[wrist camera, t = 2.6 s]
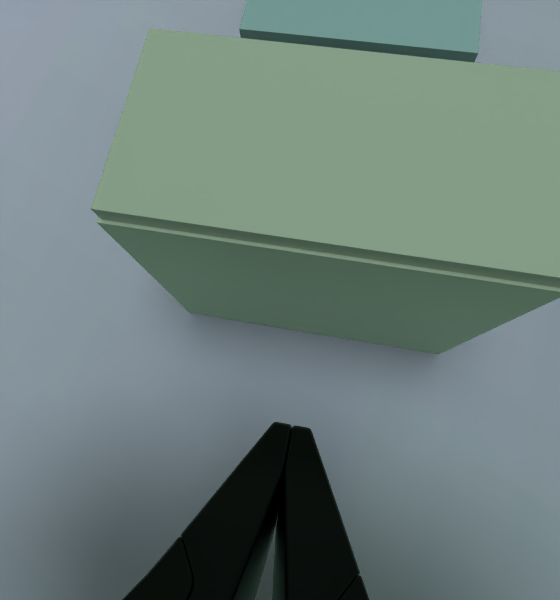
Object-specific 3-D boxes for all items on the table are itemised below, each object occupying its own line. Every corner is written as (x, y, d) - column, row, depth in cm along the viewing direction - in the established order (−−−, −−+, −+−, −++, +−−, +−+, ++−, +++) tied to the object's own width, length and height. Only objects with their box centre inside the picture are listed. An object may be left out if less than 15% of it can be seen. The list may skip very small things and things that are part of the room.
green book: (438, 354, 20) (585, 285, 10) (189, 313, 21) (86, 211, 11) (447, 237, 21) (583, 71, 11) (216, 204, 22) (147, 24, 12)
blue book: (399, 215, 22) (478, 53, 12) (265, 197, 22) (239, 28, 13) (407, 145, 23) (485, -54, 13) (279, 130, 23) (265, -72, 14)
